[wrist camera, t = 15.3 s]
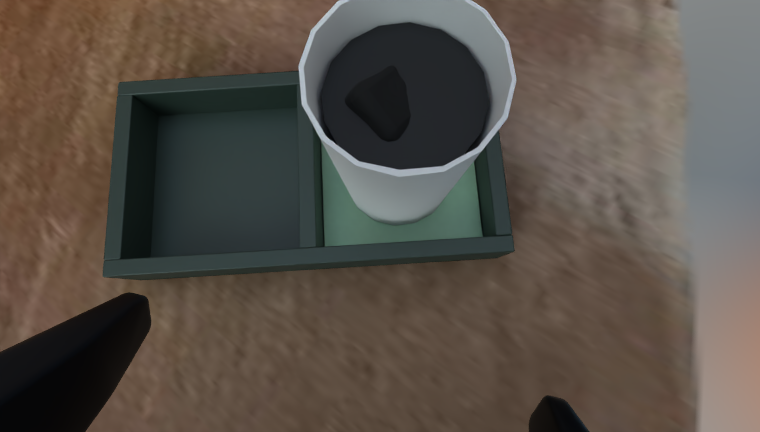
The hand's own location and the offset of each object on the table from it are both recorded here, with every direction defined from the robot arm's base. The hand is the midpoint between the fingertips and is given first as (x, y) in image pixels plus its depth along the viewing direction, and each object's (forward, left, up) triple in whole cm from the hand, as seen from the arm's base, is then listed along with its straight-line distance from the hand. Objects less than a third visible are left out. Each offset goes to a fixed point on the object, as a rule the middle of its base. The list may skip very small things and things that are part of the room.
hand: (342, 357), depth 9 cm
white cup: (+8, -2, -12) cm, 14 cm away
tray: (+8, +3, -12) cm, 15 cm away
